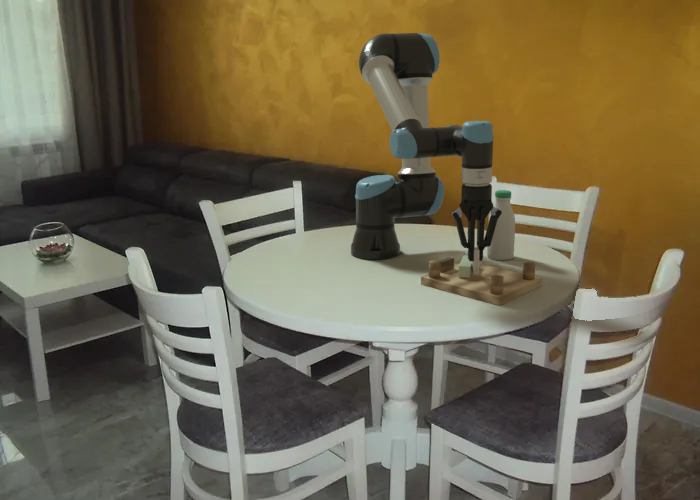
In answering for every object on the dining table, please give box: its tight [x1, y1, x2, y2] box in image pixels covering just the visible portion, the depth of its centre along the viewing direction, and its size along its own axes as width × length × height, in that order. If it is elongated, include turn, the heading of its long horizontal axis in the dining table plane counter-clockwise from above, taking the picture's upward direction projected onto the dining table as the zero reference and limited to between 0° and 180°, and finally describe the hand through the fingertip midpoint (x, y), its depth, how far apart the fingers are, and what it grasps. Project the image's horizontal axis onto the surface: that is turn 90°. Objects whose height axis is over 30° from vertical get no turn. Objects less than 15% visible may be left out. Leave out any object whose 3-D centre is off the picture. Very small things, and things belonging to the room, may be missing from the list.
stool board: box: [420, 256, 543, 306], centre depth 175 cm, size 24×20×6 cm
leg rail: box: [458, 250, 472, 278], centre depth 180 cm, size 12×3×4 cm, turn 164°
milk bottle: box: [486, 189, 516, 261], centre depth 197 cm, size 8×8×20 cm
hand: (475, 272), depth 176 cm, fingers closed
